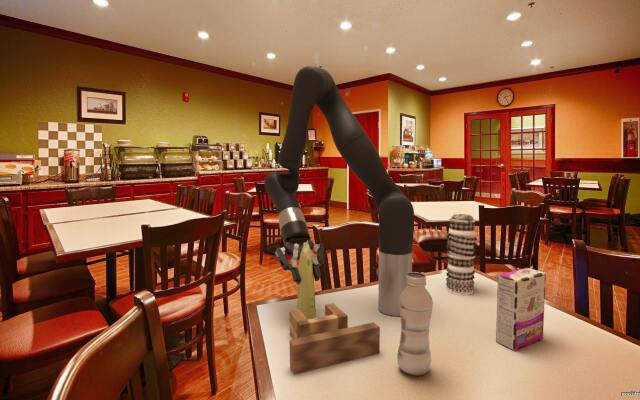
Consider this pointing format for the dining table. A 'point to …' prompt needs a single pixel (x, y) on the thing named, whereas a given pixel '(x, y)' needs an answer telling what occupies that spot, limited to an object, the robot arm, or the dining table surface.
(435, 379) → the dining table surface
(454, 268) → the decorative candle
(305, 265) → the tube
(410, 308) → the plastic bottle
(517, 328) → the candy bar box
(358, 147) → the robot arm
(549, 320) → the dining table surface
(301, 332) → the block
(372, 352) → the wooden plank
